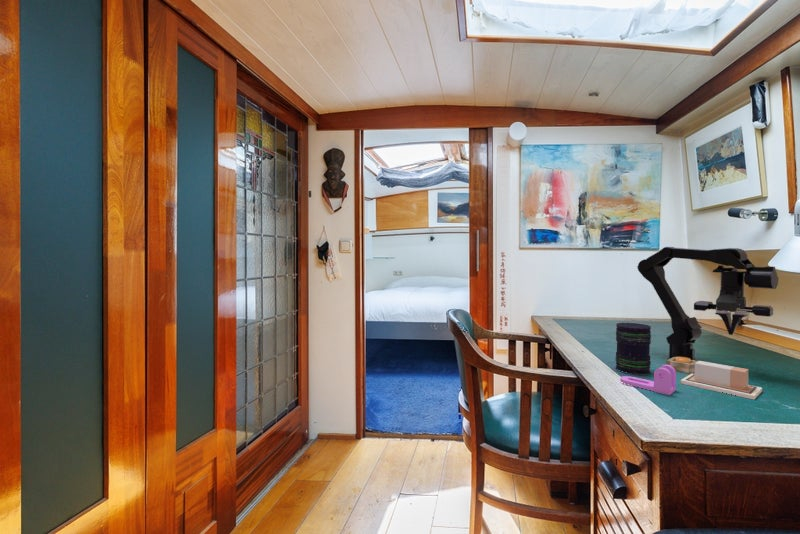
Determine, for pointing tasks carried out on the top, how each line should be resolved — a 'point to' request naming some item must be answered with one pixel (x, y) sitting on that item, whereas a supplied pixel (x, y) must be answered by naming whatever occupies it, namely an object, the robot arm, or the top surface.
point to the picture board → (723, 388)
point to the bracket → (656, 381)
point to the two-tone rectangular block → (721, 375)
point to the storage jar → (633, 348)
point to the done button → (683, 360)
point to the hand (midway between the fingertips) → (731, 334)
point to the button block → (682, 366)
